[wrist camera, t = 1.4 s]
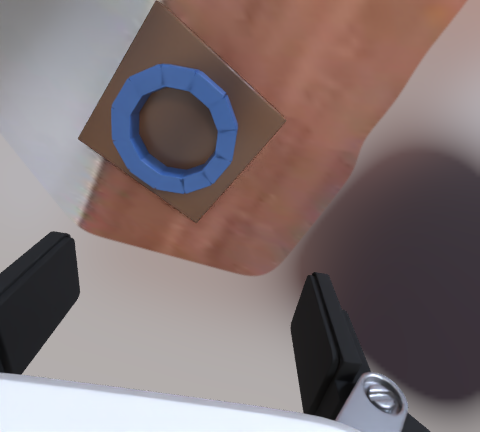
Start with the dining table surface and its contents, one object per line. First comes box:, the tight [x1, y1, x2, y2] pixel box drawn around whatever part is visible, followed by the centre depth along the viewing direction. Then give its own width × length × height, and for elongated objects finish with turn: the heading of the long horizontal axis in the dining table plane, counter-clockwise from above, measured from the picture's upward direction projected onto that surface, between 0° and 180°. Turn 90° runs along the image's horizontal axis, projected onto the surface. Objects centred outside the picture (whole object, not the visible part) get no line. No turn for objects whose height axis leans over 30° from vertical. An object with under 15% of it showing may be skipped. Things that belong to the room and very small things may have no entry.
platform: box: [78, 0, 286, 223], centre depth 28 cm, size 14×14×3 cm
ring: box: [111, 64, 238, 194], centre depth 26 cm, size 11×11×2 cm
